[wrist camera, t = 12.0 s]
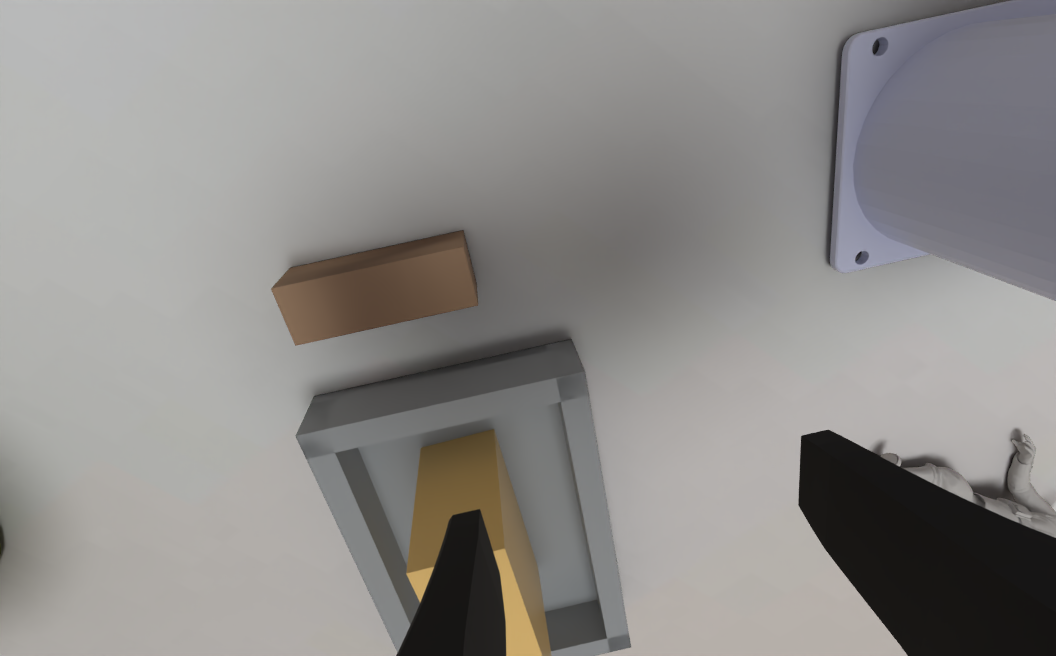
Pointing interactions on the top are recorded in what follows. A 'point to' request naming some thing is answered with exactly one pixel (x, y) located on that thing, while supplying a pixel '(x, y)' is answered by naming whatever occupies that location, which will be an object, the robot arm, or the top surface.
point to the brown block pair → (377, 288)
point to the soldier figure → (1024, 511)
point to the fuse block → (483, 483)
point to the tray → (532, 463)
